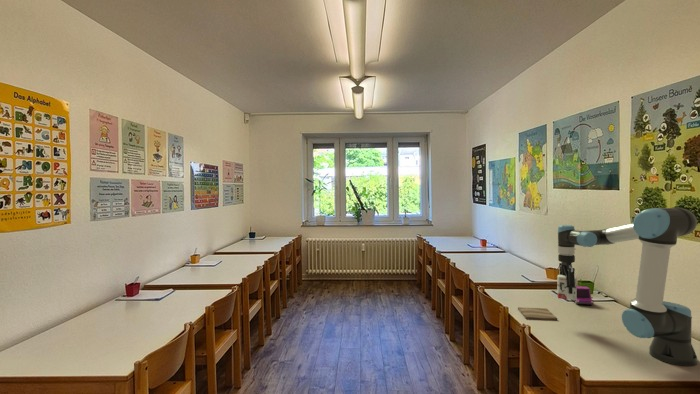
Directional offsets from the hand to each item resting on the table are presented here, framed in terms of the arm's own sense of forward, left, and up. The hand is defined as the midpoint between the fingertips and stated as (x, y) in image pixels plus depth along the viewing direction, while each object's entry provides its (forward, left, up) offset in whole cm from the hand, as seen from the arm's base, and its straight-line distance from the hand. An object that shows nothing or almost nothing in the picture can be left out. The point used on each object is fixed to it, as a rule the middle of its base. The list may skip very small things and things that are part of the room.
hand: (567, 297), depth 189 cm
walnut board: (+13, +11, -14) cm, 22 cm away
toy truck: (+40, -23, -15) cm, 48 cm away
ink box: (0, 0, -1) cm, 1 cm away
